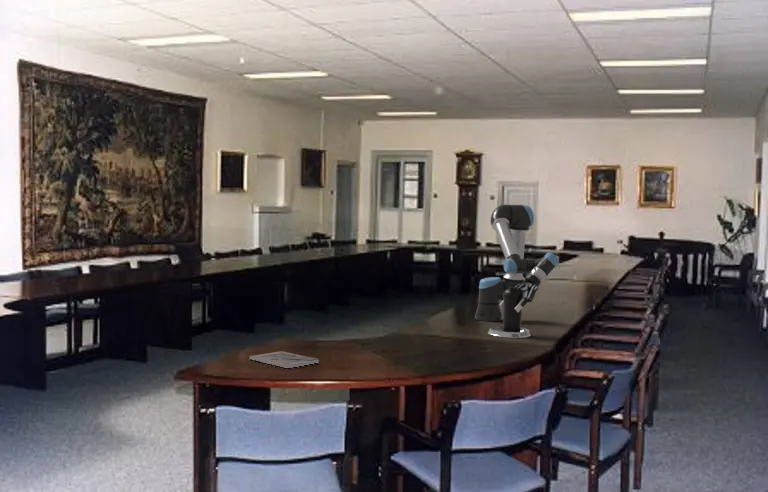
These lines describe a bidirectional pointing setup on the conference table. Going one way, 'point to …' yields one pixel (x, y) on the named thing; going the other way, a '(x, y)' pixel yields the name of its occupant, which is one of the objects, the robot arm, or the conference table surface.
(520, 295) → the water bottle
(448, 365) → the conference table surface
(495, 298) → the robot arm
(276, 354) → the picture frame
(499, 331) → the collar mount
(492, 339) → the conference table surface
